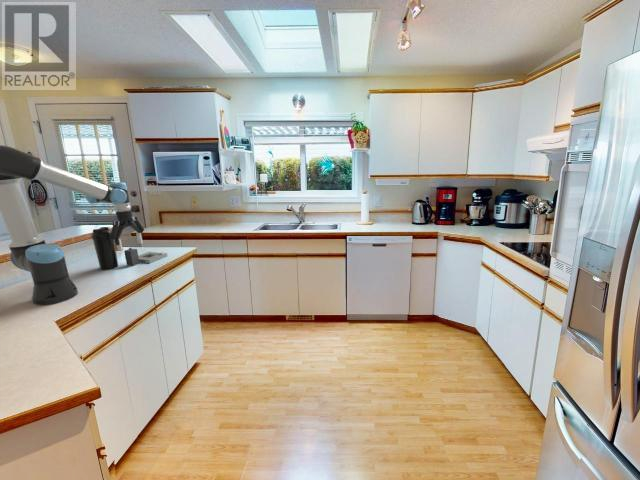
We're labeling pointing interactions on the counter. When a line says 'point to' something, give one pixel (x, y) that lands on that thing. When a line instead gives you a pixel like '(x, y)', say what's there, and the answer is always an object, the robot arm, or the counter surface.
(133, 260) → the plug
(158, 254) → the socket
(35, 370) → the counter surface
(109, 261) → the water bottle
